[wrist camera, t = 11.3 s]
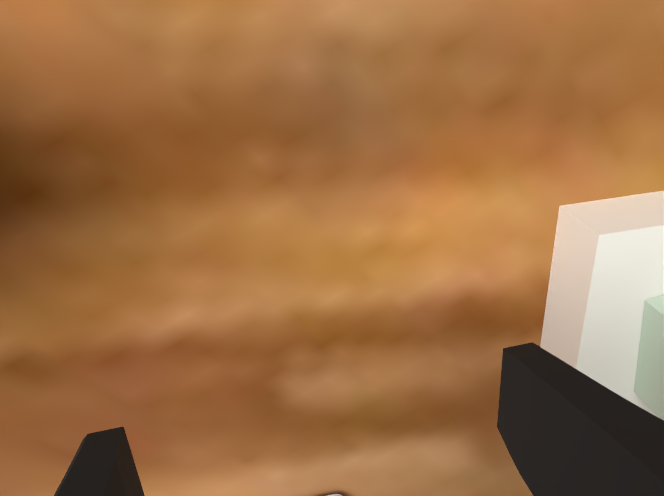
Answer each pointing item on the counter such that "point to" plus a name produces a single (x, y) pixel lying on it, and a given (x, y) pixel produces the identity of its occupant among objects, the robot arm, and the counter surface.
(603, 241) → the white block
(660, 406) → the sage block
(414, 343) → the counter surface
